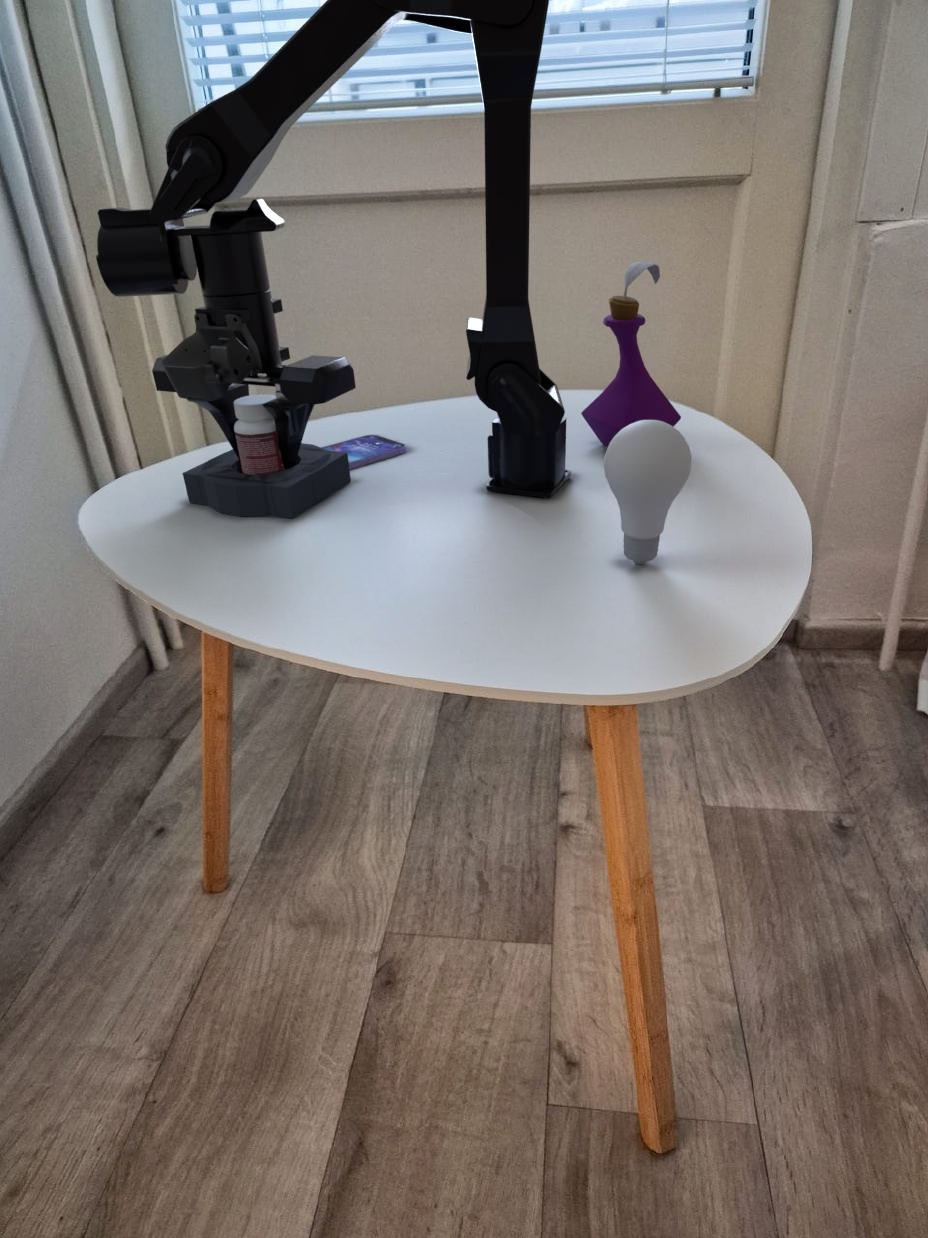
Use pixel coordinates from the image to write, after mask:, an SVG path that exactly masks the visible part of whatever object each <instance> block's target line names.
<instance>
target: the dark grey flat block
mask: <svg viewBox="0 0 928 1238" xmlns="http://www.w3.org/2000/svg"><path fill="white" fill-rule="evenodd" d="M350 470H351V469H349V462H348V453H346V452H337V451H329V450H326V449H323V448H322V446H318V445H315V444H311V443H304V442H303V443H302V442H301V446H300V449H299V453H298V456H297V459H296V463H295V466H294V467H292V468H290V469H287V470H283V471H280V472H276V473H269V474H256V475H250V474H243V471H242V466H241V462H240V460H239V459H238V457H237V455H236V454H235V452H234V450H233V448H231V449H230V450H228V451H225V452H223V453H220V454H219V455H216V456H215V457H212V458H210V459H208V460H207V461H204V462H203V463H201V464H198V465H196V466H194V467H192V468H190V469H188V470H186V471H184V472H183V473H182V477H183V481H184V485H185V490H186V495H187V498H188V503H190V504H197V505H202V506H207V507H209V508H211V509H212V510H214V511H216V512H218V513H220V514H223V515H229V516H235V517H243V518H245V517H270V516H271V517H277V518H284V519H290V520H293V519H295V518H296V517H299V515H301V514H302V513H304V512H305V511H307V510H309V509H310V508H312V507H313V506H315V505H318V504H319V503H321V502H322V501H324V500H325V499H327V498H328V497H330V496H331V495H333V493H335V492H337V491H338V490H339V489H341V488H343V487H344V486H346V485H348V484H349V483H351V481H352V479H351V471H350Z"/></svg>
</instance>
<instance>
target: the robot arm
mask: <svg viewBox="0 0 928 1238" xmlns="http://www.w3.org/2000/svg"><path fill="white" fill-rule="evenodd" d="M549 3H550V0H326V1H325V2H324V3H323V4H322V5H321V6H320V7H319V8H318V9H317V10H316V11H315V12H314V13H313V14H312V15H311V16H310V17H309V18H308V19H307V20H306V21H305V22H304V24H303V25H301V27H299V29H298V30H296V31H295V33H294V34H293V35H292V36H291V37H290V38H289V39H288V40H287V41H286V42H285V43H284V44H283V45H282V46H281V47H280V48H279V49H278V50H277V51H276V52H275V53H274V55H273V56H271V57H270V58H269V59H268V61H266V63H265V64H264V65H262V67H260V69H259V70H258V71H256V73H255V74H254V75H252V77H251V78H250V79H249V80H247V81H245V83H243V84H241V85H239V86H238V87H237V88H235V89H233V90H231V91H229V92H228V93H226V94H224V95H222V96H220V97H218V98H216V99H214V100H212V101H210V102H209V103H207V104H205V105H204V106H203V107H201V108H199V109H198V110H197V111H195V112H193V114H191V115H190V116H188V117H186V118H185V119H183V120H182V121H180V122H179V123H178V124H177V125H176V126H174V127H173V128H172V130H171V131H170V133H169V135H168V136H167V139H166V143H165V147H164V148H165V152H166V154H165V156H166V165H167V170H166V173H165V175H164V177H163V180H162V182H161V184H160V187H159V190H158V191H157V194H156V196H155V199H154V201H153V203H152V205H151V208H137V209H133V208H132V209H130V208H126V207H106V208H100V209H99V208H98V211H97V216H98V217H97V218H98V221H99V225H100V226H99V229H98V231H97V238H96V249H97V254H96V255H95V259H96V264H97V267H98V271H99V274H100V276H101V278H102V281H103V283H104V285H105V286H106V288H107V290H108V291H109V292H110V293H111V294H112V295H113V296H115V297H118V298H124V297H125V298H126V297H145V296H146V297H147V296H166V295H167V296H168V295H183V294H185V293H186V292H187V290H188V287H189V281H191V282H193V281H195V279H196V277H197V274H198V280H199V285H200V289H201V294H202V300H203V305H204V306H201V307H198V308H194V312H195V314H194V316H193V319H194V324H195V332H194V333H192V334H191V335H189V336H188V337H185V338H184V339H183V340H181V342H180V343H178V345H176V347H174V348H173V349H172V350H171V351H170V352H169V353H168V354H165V355H162V356H158V357H156V359H155V362H154V363H153V366H152V370H151V372H152V377H153V380H154V385H155V388H156V391H157V392H168V393H176V394H177V396H178V398H180V399H184V400H185V399H186V400H187V401H188V402H190V403H194V404H196V405H198V406H199V407H201V408H203V409H204V410H205V411H208V412H209V413H210V415H211V416H212V418H213V419H214V420H215V422H216V424H217V425H218V427H219V428H220V430H221V432H222V433H223V435H224V437H225V438H226V440H227V442H228V444H229V446H231V449H233V450H234V452H235V454H236V455H237V457H238V459H239V460H240V456H239V450H238V445H237V440H236V436H235V431H234V425H235V423H236V422H237V421H238V420H239V419H238V418H236V415H235V409H234V401H235V400H236V399H238V398H241V397H245V396H250V387H249V386H259V387H260V386H262V387H273V388H275V396H276V398H275V399H273V400H271V401H268V402H266V403H264V404H262V405H263V407H264V408H265V409H266V410H267V411H268V412H269V413H270V414H271V415H272V416H273V418H274V421H275V427H276V432H277V438H278V443H279V449H280V454H281V458H282V461H283V465H284V468H285V469H286V470H287V469H290V468H292V467H294V466H295V463H296V459H297V456H298V453H299V449H300V446H301V443H302V441H303V438H304V434H305V432H306V428H307V425H308V422H309V419H310V417H311V415H312V413H313V410H314V408H315V405H322V404H326V403H328V402H330V401H332V400H334V399H336V398H339V397H340V396H342V395H344V394H347V393H349V392H351V391H353V390H355V389H357V386H356V379H355V370H354V367H353V366H352V364H351V363H350V362H349V360H348V359H347V358H346V357H345V356H332V355H331V356H329V355H315V354H314V355H313V354H312V355H310V356H307V357H305V358H302V359H300V360H297V361H294V362H292V363H289V364H283V362H286V361H288V360H290V359H291V355H290V349H289V346H280V342H279V335H278V329H277V324H276V317H275V314H279V313H281V312H283V311H284V308H283V302H282V298H272V292H271V285H270V280H269V273H268V266H267V261H266V254H265V248H264V241H263V235H262V233H266V232H267V233H268V232H269V233H270V232H275V231H277V230H281V229H283V228H284V227H285V226H286V222H285V220H284V219H283V218H282V217H281V216H279V214H277V213H275V211H273V210H272V209H271V208H270V207H269V206H268V204H267V203H266V202H265V200H264V199H263V198H255V199H252V200H251V202H250V205H249V206H248V207H247V208H246V209H232V210H231V209H230V210H216V211H214V212H212V214H211V217H210V221H209V224H207V225H188V226H185V221H184V219H188V218H193V217H197V216H201V215H206V214H208V213H210V211H212V209H213V208H215V206H216V205H218V204H220V203H225V202H230V201H235V200H239V199H241V198H244V196H246V195H248V193H250V191H251V190H252V189H253V187H254V186H255V184H256V183H257V182H258V180H259V179H260V177H261V176H262V174H263V173H264V172H265V170H266V169H267V167H268V166H269V164H270V163H271V161H272V160H273V158H274V156H275V155H276V152H277V151H278V148H279V147H280V146H281V143H282V141H283V140H284V138H285V137H286V135H287V134H288V132H289V131H290V129H291V128H292V126H293V125H294V124H295V123H296V122H298V120H299V119H300V118H301V117H303V116H304V114H306V112H307V111H308V110H310V109H311V107H312V106H313V105H315V103H317V102H318V101H319V100H320V99H321V98H322V97H323V96H324V95H325V94H326V93H327V92H328V91H329V90H330V89H331V88H332V87H333V86H334V85H335V84H336V83H337V82H338V81H339V80H340V79H342V77H344V75H345V74H346V73H347V72H348V71H349V70H350V69H351V68H353V66H354V65H355V64H357V63H358V62H359V60H361V59H362V58H363V57H364V56H365V55H366V54H367V53H368V52H369V51H370V50H371V49H372V48H373V47H374V46H375V44H377V43H379V41H380V40H381V39H382V38H383V37H384V36H385V35H386V34H388V32H390V30H391V29H392V28H393V27H395V25H396V24H398V23H400V22H401V21H405V22H411V23H416V24H421V25H426V26H430V27H433V28H436V29H437V28H438V29H442V30H446V31H450V32H453V33H461V34H465V35H466V34H467V35H471V36H472V43H473V50H474V55H475V62H476V68H477V73H478V79H479V80H478V81H479V86H480V92H481V99H482V105H483V112H484V113H483V115H484V116H483V117H484V119H483V120H484V124H483V125H484V202H485V203H484V205H485V211H484V213H485V215H484V216H485V285H486V286H485V299H484V306H483V311H482V317H481V318H476V317H468V318H466V319H467V320H466V328H465V335H466V340H467V345H468V346H467V347H468V352H469V355H468V356H469V357H468V359H467V367H466V380H468V381H470V380H472V379H473V378H474V389H475V394H476V395H477V398H478V399H479V400H480V402H481V403H482V404H483V405H485V406H486V408H487V409H490V410H491V411H493V412H496V414H497V417H496V418H495V419H493V420H492V421H491V433H490V434H489V435H488V436H487V467H488V468H487V469H488V472H487V473H488V476H489V478H490V481H488V482H487V483H486V484H485V487H486V488H485V489H486V490H487V491H493V492H498V493H499V492H500V493H508V494H515V495H522V496H532V497H539V498H551V497H553V495H555V494H556V492H557V491H558V490H559V489H560V488H561V487H562V486H563V485H564V484H565V483H566V482H567V480H568V479H570V477H572V470H570V469H566V458H567V457H566V455H567V454H566V453H567V452H566V451H567V417H565V415H566V410H565V407H564V404H563V400H562V396H561V394H560V393H561V392H560V390H559V387H558V385H557V384H556V383H555V382H554V381H553V380H552V379H551V378H550V377H549V376H548V375H547V374H546V373H545V372H544V371H543V370H542V369H541V368H540V364H539V363H540V362H539V357H538V351H537V345H536V337H535V331H534V325H533V319H532V313H531V307H530V301H529V284H530V283H529V279H530V278H529V277H530V275H529V273H530V270H529V269H530V212H531V211H530V209H531V208H530V207H531V205H530V204H531V202H530V201H531V145H532V144H531V140H532V139H531V137H532V136H531V135H532V134H531V133H532V131H531V129H532V104H533V97H534V91H535V86H536V82H537V75H538V70H539V65H540V59H541V53H542V47H543V41H544V35H545V28H546V24H547V16H548V11H549V5H550V4H549ZM240 462H241V461H240Z"/></svg>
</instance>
